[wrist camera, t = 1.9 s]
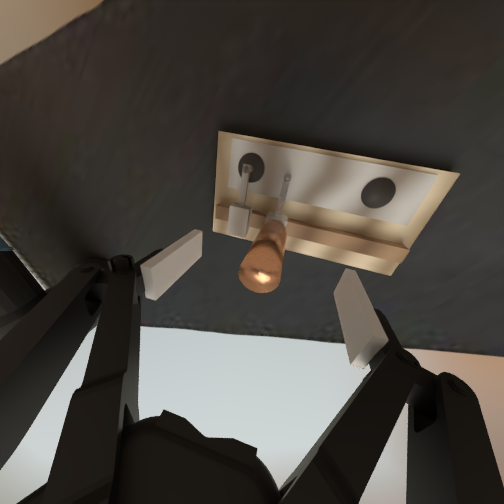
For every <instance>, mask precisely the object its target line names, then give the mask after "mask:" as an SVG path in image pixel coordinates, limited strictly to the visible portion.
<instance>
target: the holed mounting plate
mask: <svg viewBox="0 0 504 504" xmlns="http://www.w3.org/2000/svg"><path fill="white" fill-rule="evenodd" d="M285 172H290V173H292V178H291V180H290V183H289V187H288V191H287V195H286V199H285V203H284V207H283V211H282V214H286V215H289V216H288V222H287V225H286V232H287V238H286V245H285V249H286V250H290V251H294V252H298V253H302V254H306V255H310V256H314V257H318V258H322V259H326V260H330V261H334V262H338V263H342V264H346V265H350V266H354V267H358V268H362V269H366V270H370V271H374V272H378V273H382V274H385V275H389V276H391V275H392V273H393V272H394V270H395V269H396V267H397V266H398V264H399V263H402V261H403V260H404V259H405V257H406V256H407V254H408V253H409V251H410V250H409V248H410V247H411V245H412V244H413V242H414V241H415V239H416V238H417V236H418V235H419V234H420V232H421V231H422V229H423V228H424V226H425V225H426V223H427V222H428V220H429V219H430V217H431V216H432V214H433V213H434V211H435V210H436V209H437V207H438V206H439V204H440V203H441V201H442V200H443V198H444V197H445V195H446V194H447V192H448V191H449V189H450V188H451V187H452V185H453V184H454V182H455V181H456V179H457V178H458V176H459V175H460V174H459V173H453V172H448V171H442V170H436V169H431V168H425V167H419V166H414V165H408V164H403V163H397V162H391V161H386V160H380V159H374V158H369V157H363V156H357V155H352V154H346V153H341V152H335V151H329V150H324V149H318V148H312V147H307V146H301V145H295V144H290V143H284V142H279V141H273V140H267V139H262V138H256V137H250V136H245V135H239V134H233V133H228V132H222V131H219V133H218V150H217V167H216V184H215V201H214V219H213V231H214V232H218V233H222V234H226V235H230V236H234V237H238V238H242V239H246V240H250V241H254V240H255V238H256V236H257V234H258V233H259V231H260V229H261V227H262V226H263V225H264V224H265V219H266V216H267V214H268V213H269V211H273V212H276V209H277V204H278V200H279V196H280V192H281V187H282V183H283V177H284V174H285Z"/></svg>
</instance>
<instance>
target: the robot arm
mask: <svg viewBox="0 0 504 504" xmlns="http://www.w3.org/2000/svg"><path fill="white" fill-rule="evenodd" d="M13 250H14V249H13V248H12V247H10V246H8V244H7V243H6V242H5V241H4V240H3V239H2V238H1V237H0V470H1V468H2V467H3V466H4V464H5V463H6V462H7V460H8V459H9V458H10V456H11V455H12V454H13V452H14V451H15V450H16V448H17V446H18V445H19V444H20V442H21V440H22V439H23V437H24V436H25V434H26V433H27V431H28V430H29V428H30V427H31V425H32V423H33V421H34V420H35V418H36V417H37V415H38V414H39V412H40V410H41V409H42V407H43V405H44V404H45V402H46V400H47V399H48V397H49V396H50V394H51V392H52V391H53V389H54V387H55V386H56V384H57V382H58V381H59V379H60V378H61V376H62V374H63V373H64V371H65V369H66V368H67V366H68V365H69V363H70V361H71V360H72V358H73V357H74V355H75V353H76V352H77V350H78V348H79V347H80V345H81V343H82V342H83V340H84V338H85V337H86V335H87V334H88V333H89V332H90V331H91V330H92V329H93V328H95V327H96V326H97V328H96V332H95V336H94V340H93V344H92V348H91V352H90V356H89V360H88V364H87V368H86V372H85V376H84V380H83V383H82V386H81V387H80V388H79V389H76V390H75V392H74V393H73V395H72V398H71V400H70V404H69V408H68V411H67V415H66V418H65V422H64V425H63V429H62V432H61V436H60V439H59V443H58V447H57V450H56V454H55V457H54V460H53V464H52V467H51V471H50V475H49V478H48V482H47V483H46V484H44V485H43V486H41V487H40V488H38V489H37V490H35V491H34V492H33V493H31V494H30V495H28V496H27V497H25V498H24V499H22V500H21V501H20V502H18V503H17V504H359V501H360V498H361V496H362V494H363V492H364V490H365V488H366V486H367V483H368V481H369V479H370V477H371V475H372V473H373V471H374V468H375V466H376V464H377V462H378V460H379V458H380V456H381V453H382V451H383V449H384V447H385V445H386V443H387V441H388V439H389V437H390V435H391V432H392V430H393V428H394V426H395V424H396V422H397V420H398V418H399V415H400V413H401V411H402V409H403V407H404V405H405V403H407V404H408V447H407V491H406V504H504V487H503V483H502V480H501V476H500V473H499V470H498V466H497V463H496V459H495V456H494V452H493V449H492V446H491V442H490V439H489V436H488V432H487V429H486V425H485V422H484V419H483V415H482V412H481V408H480V405H479V401H478V398H477V397H476V394H475V393H474V392H473V390H472V389H471V388H470V387H469V386H468V385H467V384H466V383H465V382H464V381H462V380H461V379H459V378H458V377H456V376H455V375H452V374H451V373H447V372H443V373H440V374H439V375H438V376H437V375H435V374H433V373H432V372H430V371H428V370H426V369H424V368H422V367H421V366H420V364H419V362H418V360H417V359H416V358H415V357H414V356H413V355H412V354H411V353H410V352H408V351H407V350H405V349H403V348H402V347H401V345H400V343H399V341H398V339H397V337H396V335H395V333H394V332H393V330H392V328H391V326H390V324H389V322H388V320H387V318H386V317H385V315H384V314H383V313H382V312H381V311H380V310H378V309H375V308H373V307H372V304H371V302H370V300H369V298H368V296H367V294H366V292H365V290H364V288H363V286H362V284H361V281H360V279H359V277H358V275H357V273H356V271H354V270H350V269H345V271H344V273H343V275H342V277H341V279H340V281H339V283H338V285H337V287H336V289H335V291H334V297H335V302H336V306H337V310H338V314H339V318H340V323H341V327H342V331H343V335H344V340H345V344H346V348H347V352H348V356H349V360H350V364H351V365H353V366H356V367H360V368H362V369H364V368H365V367H366V366H367V365H368V364H369V365H370V368H371V371H370V372H369V373H368V374H367V375H366V377H365V378H364V379H363V381H362V383H361V384H360V385H359V387H358V388H357V389H356V390H355V392H354V393H353V394H352V396H351V397H350V398H349V400H348V401H347V402H346V404H345V405H344V406H343V407H342V409H341V410H340V411H339V413H338V414H337V415H336V417H335V418H334V419H333V421H332V422H331V423H330V425H329V426H328V427H327V429H326V430H325V431H324V433H323V434H322V435H321V436H320V438H319V439H318V441H317V442H316V443H315V444H314V446H313V447H312V448H311V450H310V451H309V452H308V454H307V455H306V456H305V458H304V459H303V460H302V462H301V463H300V464H299V465H298V467H297V468H296V469H295V471H294V472H293V473H292V474H291V475H290V476H289V478H288V479H287V480H286V481H285V482H284V484H283V485H282V487H281V488H280V489H279V490H278V488H277V485H276V483H275V481H274V479H273V477H272V475H271V474H270V472H269V470H268V469H267V467H266V466H265V465H264V464H263V462H262V461H261V460H260V459H259V458H258V457H257V456H256V454H257V448H255V447H253V446H250V445H248V444H245V443H243V442H241V441H238V440H236V439H234V438H208V437H205V436H204V435H202V434H201V433H200V432H199V431H198V430H197V429H196V428H195V427H194V426H193V425H192V424H191V423H190V422H189V421H187V420H186V419H185V418H183V417H181V416H178V415H176V414H173V413H171V412H169V411H166V410H163V412H162V413H161V415H160V416H155V417H149V418H145V419H143V420H140V421H139V409H138V381H139V351H140V322H141V294H142V293H143V292H145V294H146V298H149V299H152V300H155V301H156V300H157V299H158V298H159V297H160V296H161V295H162V294H163V293H164V292H165V291H166V290H167V289H168V288H169V287H170V286H171V285H172V284H173V283H174V282H175V281H176V280H178V279H179V278H180V277H181V276H182V275H183V274H184V273H185V272H186V271H187V270H188V269H189V268H190V267H191V266H192V265H193V264H194V263H195V262H196V261H197V260H198V259H199V258H200V257H201V256H202V231H200V230H196V229H194V230H193V231H191V232H190V233H188V234H187V235H185V236H184V237H182V238H181V239H179V240H178V241H176V242H175V243H173V244H172V245H170V246H169V247H167V248H166V249H159V250H156V251H154V252H152V253H151V254H150V255H148V256H146V257H144V258H143V259H141V260H140V261H138V262H136V263H135V264H134V259H133V257H132V256H130V255H117V256H114V257H112V258H110V259H109V260H108V261H105V260H103V259H99V258H90V259H87V260H85V261H83V262H81V263H79V264H78V265H76V266H75V267H74V268H73V270H72V271H70V272H69V273H68V274H67V275H66V276H65V277H63V278H62V279H61V280H60V281H59V282H58V283H57V284H56V285H54V286H52V287H51V288H49V289H47V290H45V291H44V290H43V289H42V287H41V286H40V284H39V283H38V282H37V281H36V279H35V278H34V277H33V276H32V274H31V273H30V272H29V271H28V269H27V268H26V267H25V266H24V264H23V263H22V262H21V260H20V259H19V258H18V257H17V255H16V254H15V253H14V252H13Z"/></svg>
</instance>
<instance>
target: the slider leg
mask: <svg viewBox="0 0 504 504" xmlns="http://www.w3.org/2000/svg"><path fill="white" fill-rule="evenodd" d="M291 178H292V173H290V172H285V174H284V177H283V183H282V187H281V192H280V196H279V200H278V204H277V209H276V212H273V211H269V213H268V214H267V216H266V219H265V224H264V225H263V226H262V227H261V229H260V231H259V233H258V234H257V236H256V238H255V240H254V242H253V244H252V245H251V247H250V249H249V251H248V253H247V255H246V256H245V258H244V260H243V262H242V264H241V265H240V268H239V278H240V280H241V282H242V284H243V285H244V286H245V287H247V288H248V289H250V290H251V291H254V292H258V293H267V292H270V291H272V290H274V289H275V288H276V287H277V286H278V285H279V282H280V277H281V271H282V264H283V258H284V251H285V245H286V238H287V232H286V225H287V222H288V216H289V215H286V214H282V211H283V207H284V203H285V199H286V195H287V191H288V187H289V183H290V180H291Z"/></svg>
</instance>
